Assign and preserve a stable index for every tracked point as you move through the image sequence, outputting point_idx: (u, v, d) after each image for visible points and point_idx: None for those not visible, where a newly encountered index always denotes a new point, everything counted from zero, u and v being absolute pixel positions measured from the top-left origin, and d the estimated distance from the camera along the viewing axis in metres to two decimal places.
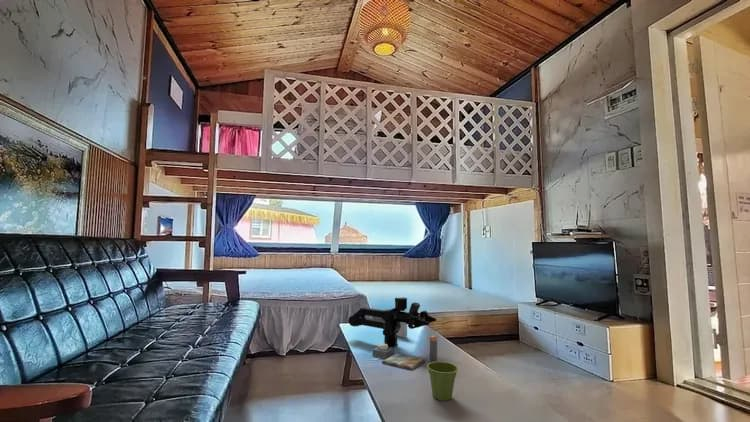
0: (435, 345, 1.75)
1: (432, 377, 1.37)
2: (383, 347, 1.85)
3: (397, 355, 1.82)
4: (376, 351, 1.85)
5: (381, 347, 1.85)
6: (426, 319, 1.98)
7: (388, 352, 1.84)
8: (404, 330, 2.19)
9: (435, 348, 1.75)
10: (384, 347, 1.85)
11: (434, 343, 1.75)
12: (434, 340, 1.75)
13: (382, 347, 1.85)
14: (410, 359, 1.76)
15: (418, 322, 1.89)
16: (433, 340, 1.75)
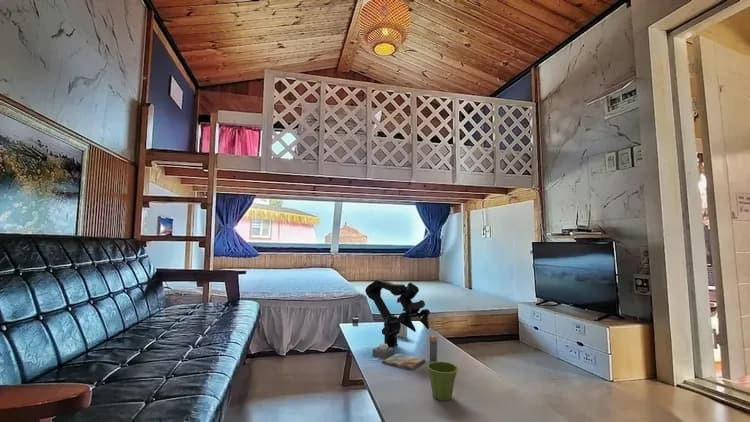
0: (435, 345, 1.75)
1: (432, 377, 1.37)
2: (383, 347, 1.85)
3: (397, 355, 1.82)
4: (376, 351, 1.85)
5: (381, 347, 1.85)
6: (422, 319, 1.91)
7: (388, 352, 1.84)
8: (404, 330, 2.19)
9: (435, 348, 1.75)
10: (384, 347, 1.85)
11: (434, 343, 1.75)
12: (434, 340, 1.75)
13: (382, 347, 1.85)
14: (410, 359, 1.76)
15: (408, 322, 1.84)
16: (433, 340, 1.75)
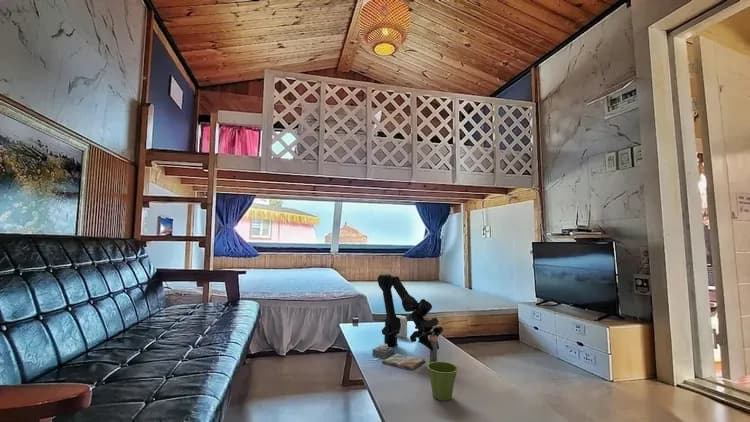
0: (435, 345, 1.75)
1: (432, 377, 1.37)
2: (383, 347, 1.85)
3: (397, 355, 1.82)
4: (376, 351, 1.85)
5: (381, 347, 1.85)
6: None
7: (388, 352, 1.84)
8: (404, 330, 2.19)
9: (435, 348, 1.75)
10: (384, 347, 1.85)
11: (434, 343, 1.75)
12: (434, 340, 1.75)
13: (382, 347, 1.85)
14: (410, 359, 1.76)
15: (425, 340, 1.77)
16: (433, 340, 1.75)
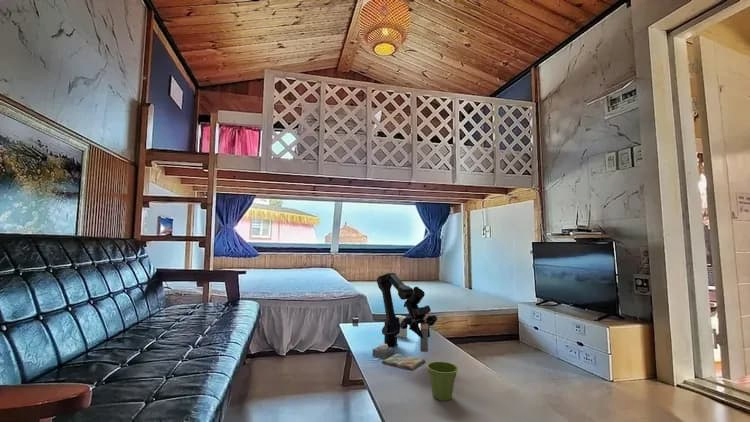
0: (425, 333, 1.73)
1: (432, 377, 1.37)
2: (383, 347, 1.85)
3: (397, 355, 1.82)
4: (376, 351, 1.85)
5: (381, 347, 1.85)
6: None
7: (388, 352, 1.84)
8: (404, 330, 2.19)
9: (425, 336, 1.73)
10: (384, 347, 1.85)
11: (424, 331, 1.73)
12: (424, 328, 1.73)
13: (382, 347, 1.85)
14: (410, 359, 1.76)
15: (415, 328, 1.76)
16: (423, 328, 1.73)
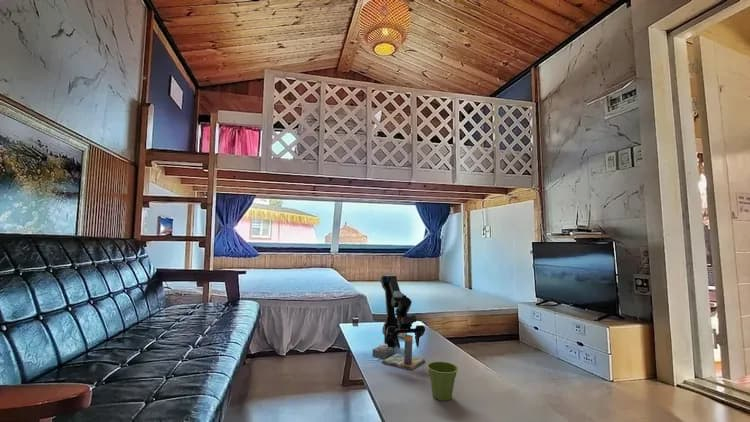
0: (408, 345, 1.70)
1: (432, 377, 1.37)
2: (383, 347, 1.85)
3: (397, 355, 1.82)
4: (376, 351, 1.85)
5: (381, 347, 1.85)
6: (415, 336, 1.76)
7: (388, 352, 1.84)
8: None
9: (408, 348, 1.70)
10: (384, 347, 1.85)
11: (407, 343, 1.70)
12: (407, 340, 1.70)
13: (382, 347, 1.85)
14: None
15: (395, 337, 1.73)
16: (406, 340, 1.70)
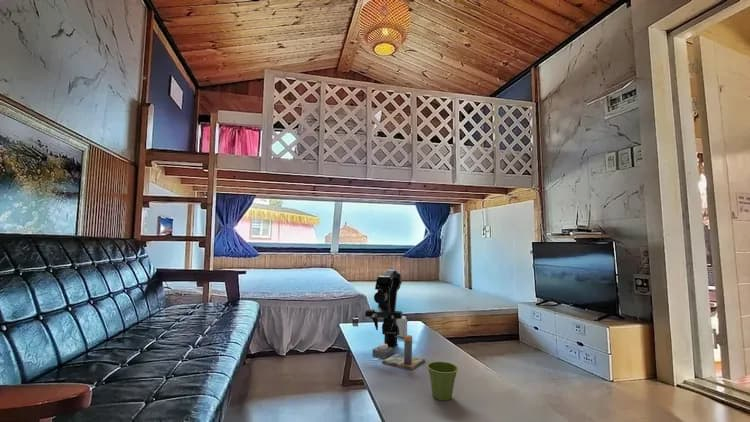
0: (408, 345, 1.70)
1: (432, 377, 1.37)
2: (383, 347, 1.85)
3: (397, 355, 1.82)
4: (376, 351, 1.85)
5: (381, 347, 1.85)
6: None
7: (388, 352, 1.84)
8: (404, 330, 2.19)
9: (408, 348, 1.70)
10: (384, 347, 1.85)
11: (407, 343, 1.70)
12: (407, 340, 1.70)
13: (382, 347, 1.85)
14: None
15: None
16: (406, 340, 1.70)
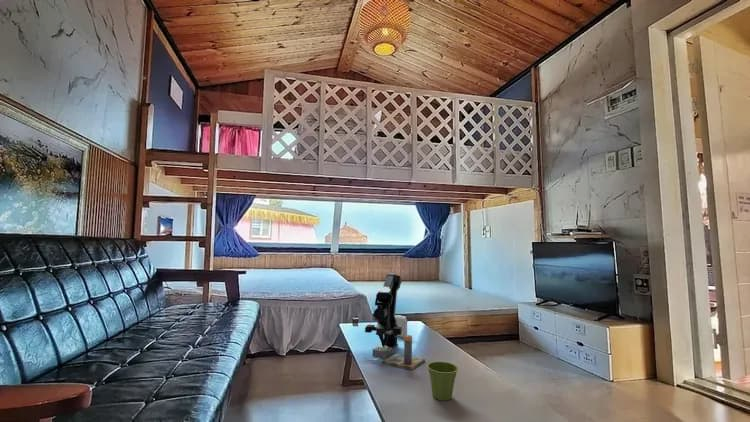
0: (408, 345, 1.70)
1: (432, 377, 1.37)
2: (383, 349, 1.85)
3: (397, 355, 1.82)
4: (376, 351, 1.85)
5: (381, 349, 1.85)
6: None
7: (388, 352, 1.84)
8: (404, 330, 2.19)
9: (408, 348, 1.70)
10: (384, 349, 1.85)
11: (406, 343, 1.70)
12: (407, 340, 1.70)
13: (382, 349, 1.85)
14: None
15: None
16: (406, 340, 1.70)
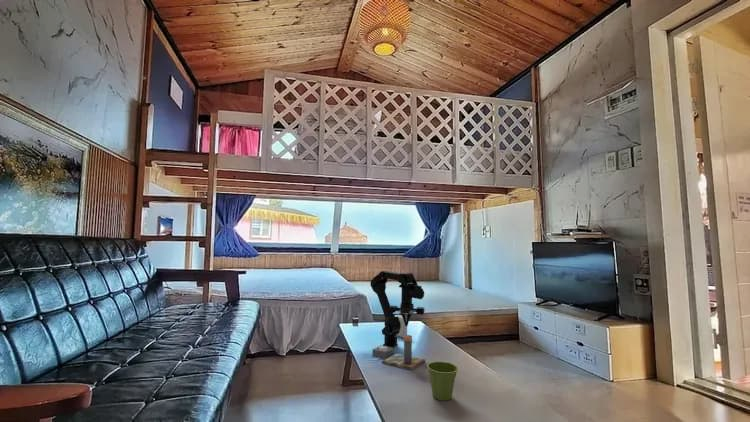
0: (408, 345, 1.70)
1: (432, 377, 1.37)
2: (383, 350, 1.85)
3: (397, 355, 1.82)
4: (376, 351, 1.85)
5: None
6: None
7: (388, 352, 1.84)
8: (404, 330, 2.19)
9: (408, 348, 1.70)
10: (384, 350, 1.85)
11: (406, 343, 1.70)
12: (406, 340, 1.70)
13: None
14: None
15: None
16: (405, 340, 1.70)
